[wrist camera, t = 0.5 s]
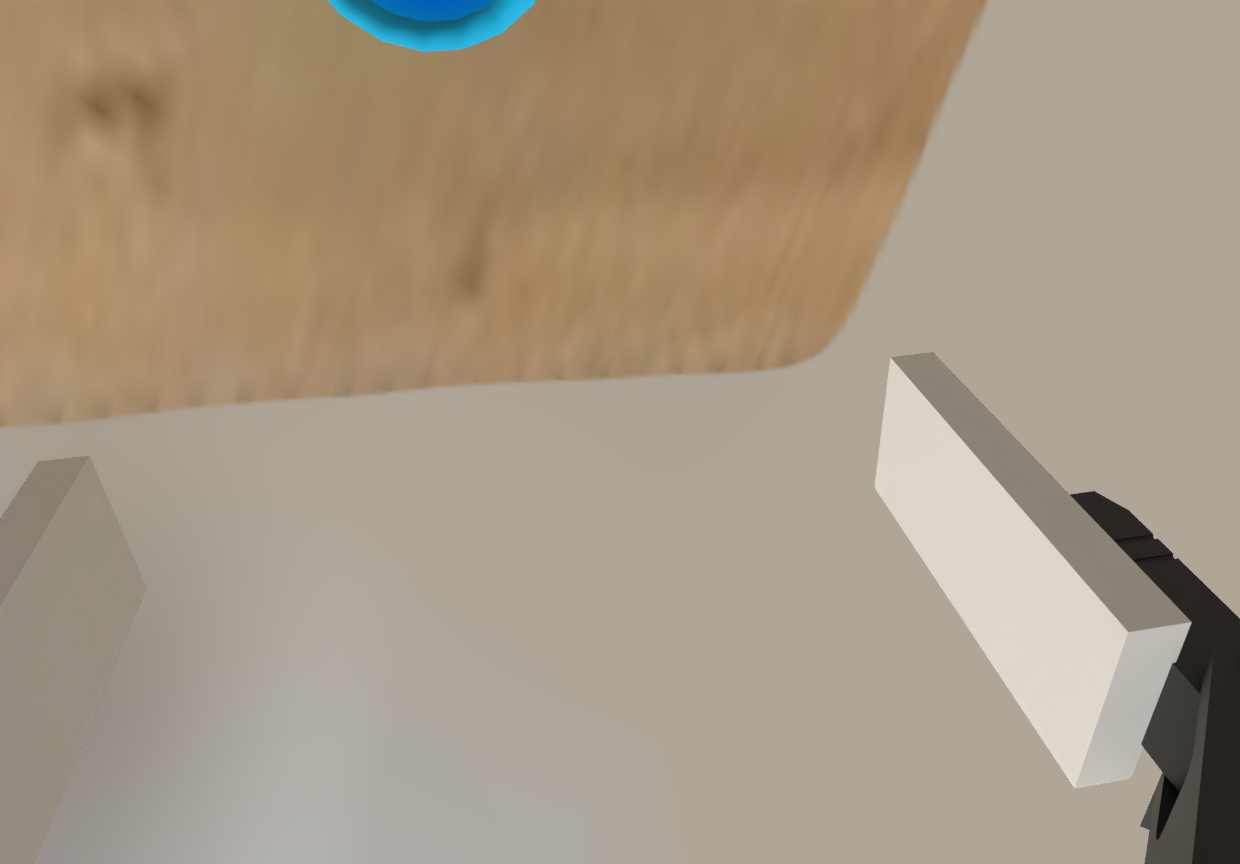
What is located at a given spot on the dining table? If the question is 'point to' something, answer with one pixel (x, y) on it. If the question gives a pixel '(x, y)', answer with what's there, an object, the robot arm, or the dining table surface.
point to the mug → (433, 20)
